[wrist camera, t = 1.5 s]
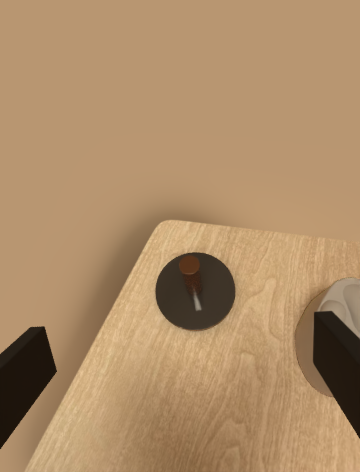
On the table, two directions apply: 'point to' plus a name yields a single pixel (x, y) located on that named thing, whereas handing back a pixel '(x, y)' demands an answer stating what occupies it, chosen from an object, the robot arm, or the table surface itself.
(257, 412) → the table surface
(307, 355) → the lumpy-topped squat cylinder
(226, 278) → the lid
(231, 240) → the table surface
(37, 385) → the robot arm
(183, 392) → the table surface
